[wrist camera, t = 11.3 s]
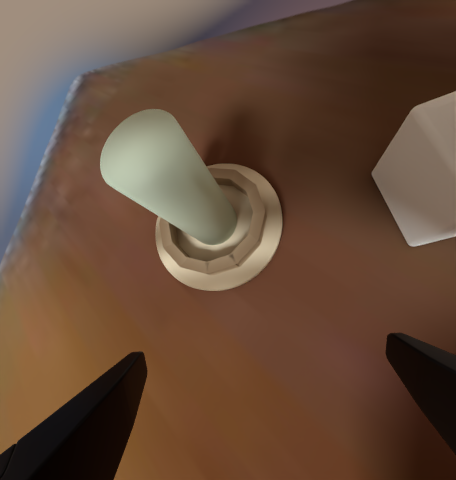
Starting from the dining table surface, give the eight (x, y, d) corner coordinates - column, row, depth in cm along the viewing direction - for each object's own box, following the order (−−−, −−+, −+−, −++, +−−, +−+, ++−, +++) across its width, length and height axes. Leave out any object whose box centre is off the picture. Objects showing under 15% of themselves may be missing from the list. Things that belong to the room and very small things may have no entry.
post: (235, 245, 19) (172, 187, 9) (189, 244, 21) (90, 193, 10) (238, 199, 20) (186, 101, 10) (195, 201, 22) (110, 116, 12)
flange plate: (303, 267, 18) (306, 259, 14) (171, 306, 21) (144, 308, 17) (258, 149, 22) (251, 120, 19) (153, 194, 25) (129, 176, 21)
